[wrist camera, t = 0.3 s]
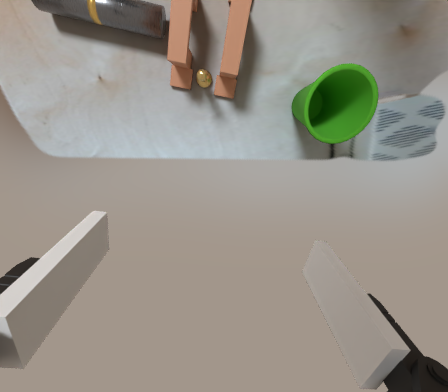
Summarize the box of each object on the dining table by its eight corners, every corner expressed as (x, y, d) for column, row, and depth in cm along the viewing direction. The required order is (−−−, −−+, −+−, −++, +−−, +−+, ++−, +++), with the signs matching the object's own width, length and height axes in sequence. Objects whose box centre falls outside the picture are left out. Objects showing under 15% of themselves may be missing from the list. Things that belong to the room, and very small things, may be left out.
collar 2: (232, -24, 29) (235, -52, 23) (255, -18, 29) (263, -44, 24) (213, 94, 35) (213, 93, 29) (233, 98, 35) (236, 98, 30)
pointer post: (197, 68, 33) (193, 61, 27) (212, 72, 33) (212, 66, 27) (195, 85, 34) (191, 82, 28) (210, 89, 34) (209, 86, 28)
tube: (49, 15, 30) (29, 4, 26) (46, -19, 28) (23, -34, 25) (164, 42, 32) (158, 35, 28) (166, 11, 30) (160, 0, 27)
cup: (296, 142, 38) (324, 157, 28) (269, 99, 35) (290, 98, 25) (341, 110, 36) (389, 113, 26) (317, 60, 33) (361, 43, 23)
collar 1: (180, -39, 28) (172, -71, 23) (204, -32, 28) (201, -62, 23) (170, 85, 34) (162, 82, 29) (190, 89, 34) (186, 87, 29)
